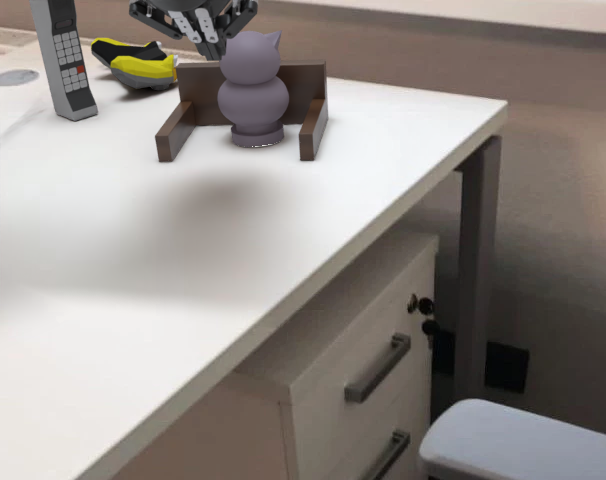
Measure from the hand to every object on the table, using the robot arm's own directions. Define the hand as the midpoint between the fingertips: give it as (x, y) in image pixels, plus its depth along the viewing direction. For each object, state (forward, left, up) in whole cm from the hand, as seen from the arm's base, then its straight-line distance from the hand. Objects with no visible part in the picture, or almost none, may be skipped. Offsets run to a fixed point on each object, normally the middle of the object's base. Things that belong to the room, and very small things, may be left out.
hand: (215, 52), depth 91 cm
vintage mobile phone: (-25, +20, -13) cm, 34 cm away
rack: (0, +10, -12) cm, 16 cm away
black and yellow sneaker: (-20, +33, -13) cm, 40 cm away
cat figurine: (+1, +10, -13) cm, 16 cm away
